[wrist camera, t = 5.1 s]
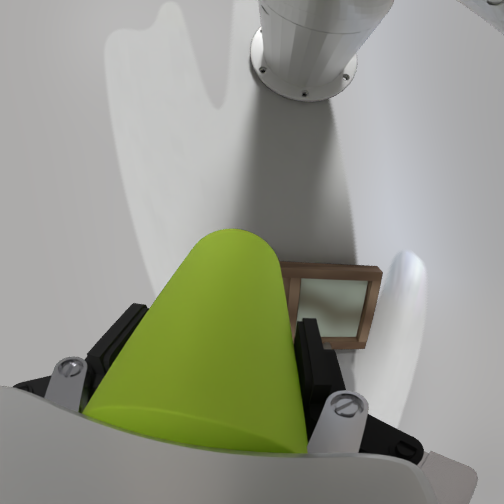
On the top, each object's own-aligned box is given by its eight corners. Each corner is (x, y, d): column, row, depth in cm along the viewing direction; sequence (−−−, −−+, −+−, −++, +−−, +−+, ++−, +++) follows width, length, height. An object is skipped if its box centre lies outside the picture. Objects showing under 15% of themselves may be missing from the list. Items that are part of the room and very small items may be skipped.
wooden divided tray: (208, 257, 35) (197, 272, 30) (377, 266, 34) (391, 281, 29) (210, 333, 39) (202, 356, 34) (360, 339, 37) (370, 361, 32)
